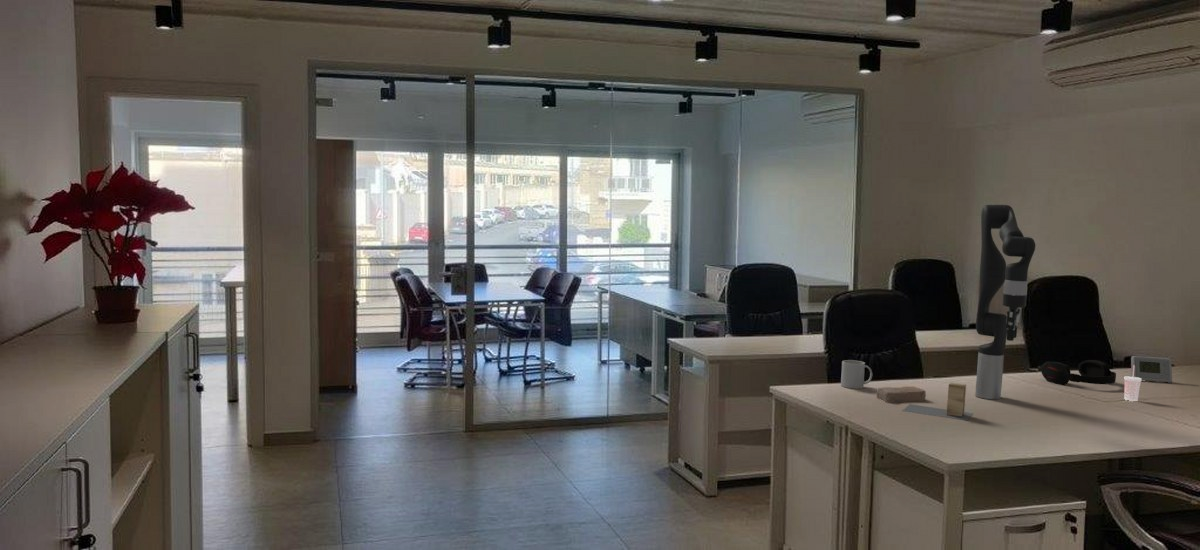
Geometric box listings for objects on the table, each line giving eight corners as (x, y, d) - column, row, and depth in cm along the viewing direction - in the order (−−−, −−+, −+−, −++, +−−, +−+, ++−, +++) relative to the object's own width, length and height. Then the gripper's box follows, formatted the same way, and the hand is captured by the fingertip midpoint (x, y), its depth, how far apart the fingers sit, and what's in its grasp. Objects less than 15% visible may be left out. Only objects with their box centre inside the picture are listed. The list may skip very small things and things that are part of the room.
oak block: (949, 412, 317) (951, 382, 316) (964, 414, 314) (966, 384, 313) (946, 415, 313) (948, 384, 312) (961, 417, 310) (963, 386, 309)
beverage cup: (1128, 401, 347) (1131, 366, 346) (1118, 398, 353) (1121, 363, 352) (1143, 402, 347) (1146, 367, 346) (1133, 398, 353) (1136, 364, 352)
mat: (909, 405, 328) (909, 404, 328) (973, 414, 317) (973, 413, 317) (901, 411, 317) (901, 410, 317) (967, 421, 306) (967, 420, 306)
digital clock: (1130, 380, 391) (1132, 357, 390) (1127, 377, 399) (1129, 353, 398) (1173, 385, 384) (1175, 361, 383) (1169, 381, 392) (1172, 357, 391)
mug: (837, 386, 358) (838, 361, 357) (847, 382, 365) (848, 359, 364) (862, 390, 351) (863, 365, 350) (872, 387, 358) (874, 362, 357)
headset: (1056, 373, 403) (1057, 353, 402) (1124, 383, 384) (1126, 362, 383) (1034, 381, 382) (1035, 360, 381) (1104, 393, 363) (1106, 371, 362)
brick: (886, 403, 331) (887, 391, 331) (875, 398, 339) (876, 386, 339) (926, 402, 335) (927, 390, 334) (913, 397, 343) (914, 385, 342)
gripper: (1006, 290, 320) (1002, 335, 322) (1000, 293, 308) (997, 340, 309) (1028, 292, 316) (1025, 337, 318) (1024, 295, 304) (1020, 342, 306)
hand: (1011, 339), depth 314 cm, fingers open, 7 cm apart
